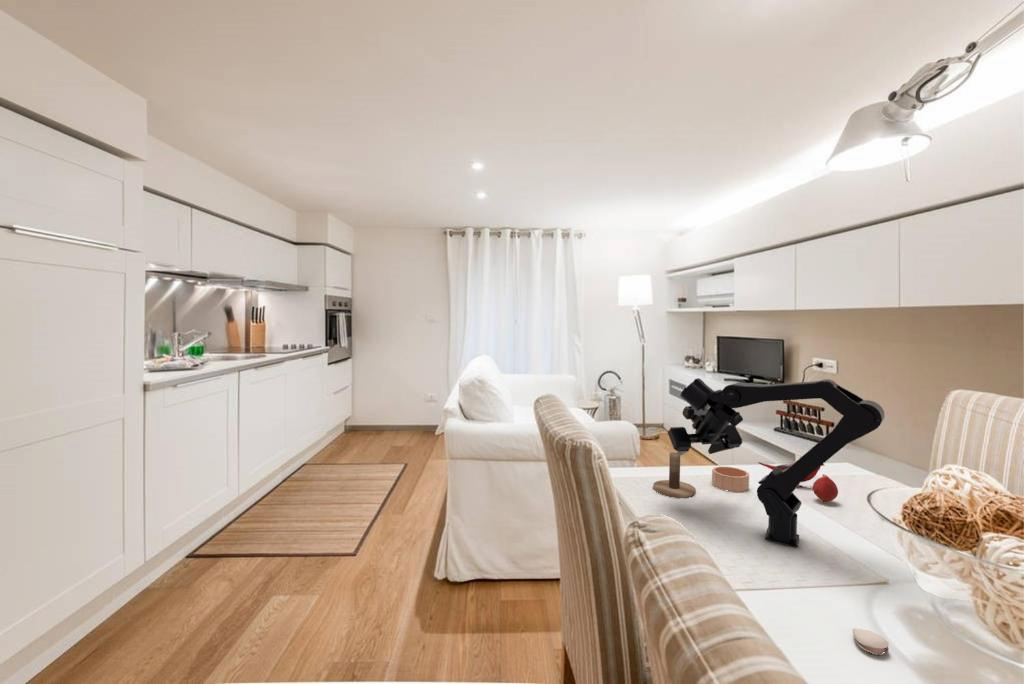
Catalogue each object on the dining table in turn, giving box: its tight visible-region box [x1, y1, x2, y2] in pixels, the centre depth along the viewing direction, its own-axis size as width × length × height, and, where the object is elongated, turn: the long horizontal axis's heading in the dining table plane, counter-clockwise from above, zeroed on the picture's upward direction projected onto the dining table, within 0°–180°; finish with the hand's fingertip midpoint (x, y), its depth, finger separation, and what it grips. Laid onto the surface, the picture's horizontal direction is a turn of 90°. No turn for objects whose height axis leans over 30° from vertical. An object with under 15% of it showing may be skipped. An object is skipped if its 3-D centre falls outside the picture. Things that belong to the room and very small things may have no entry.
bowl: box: [711, 465, 750, 493], centre depth 139 cm, size 10×10×4 cm
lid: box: [652, 452, 697, 499], centre depth 135 cm, size 12×12×11 cm
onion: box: [812, 473, 839, 503], centre depth 127 cm, size 6×6×8 cm
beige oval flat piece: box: [852, 627, 890, 656], centre depth 70 cm, size 4×5×2 cm
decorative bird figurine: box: [757, 462, 825, 488], centre depth 139 cm, size 3×18×10 cm, turn 64°
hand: (693, 453), depth 127 cm, fingers open, 9 cm apart
